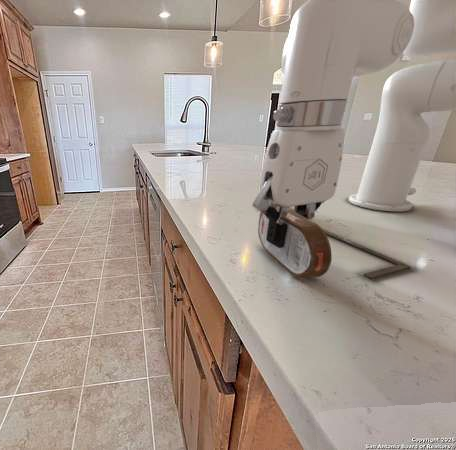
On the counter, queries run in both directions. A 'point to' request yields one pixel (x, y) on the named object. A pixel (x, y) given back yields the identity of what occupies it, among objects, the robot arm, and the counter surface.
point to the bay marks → (377, 273)
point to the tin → (299, 246)
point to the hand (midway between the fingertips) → (285, 240)
